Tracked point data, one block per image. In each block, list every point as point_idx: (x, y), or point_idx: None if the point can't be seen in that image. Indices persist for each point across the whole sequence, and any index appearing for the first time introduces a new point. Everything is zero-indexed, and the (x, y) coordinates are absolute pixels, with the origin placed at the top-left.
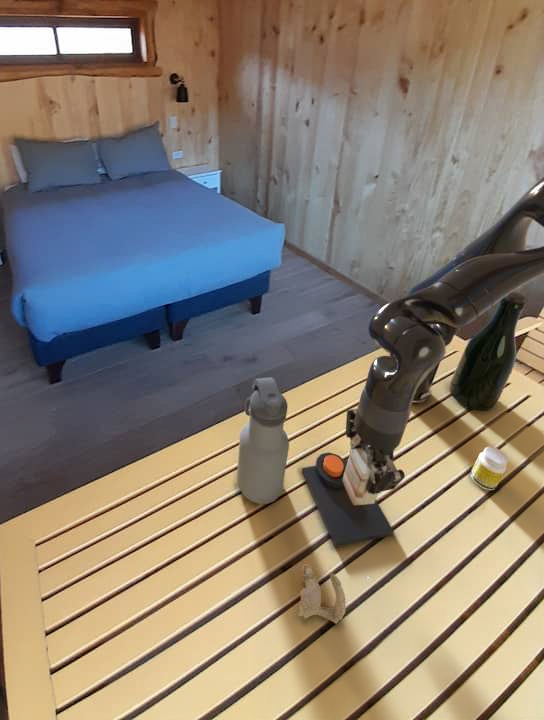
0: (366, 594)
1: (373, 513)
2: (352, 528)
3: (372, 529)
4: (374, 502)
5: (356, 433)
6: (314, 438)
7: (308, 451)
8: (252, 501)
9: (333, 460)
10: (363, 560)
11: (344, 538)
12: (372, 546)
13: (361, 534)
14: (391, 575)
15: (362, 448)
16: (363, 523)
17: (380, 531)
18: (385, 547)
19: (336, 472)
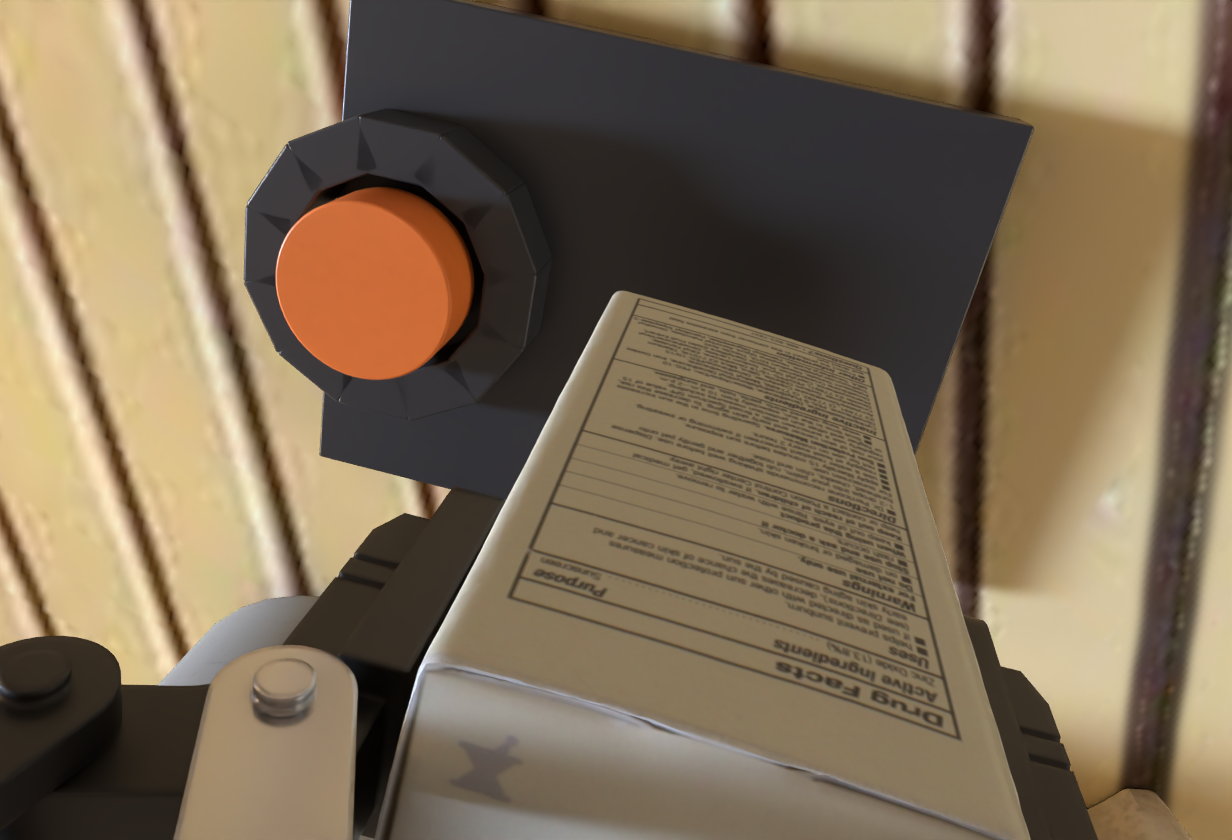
0: (1170, 576)
1: (835, 181)
2: None
3: (927, 291)
4: (893, 387)
5: (52, 831)
6: (94, 144)
7: (198, 275)
8: None
9: (333, 276)
10: (1020, 455)
11: None
12: (990, 331)
13: (909, 396)
14: (1203, 350)
15: (401, 834)
16: (856, 322)
17: (972, 239)
18: (1050, 243)
19: (444, 331)
